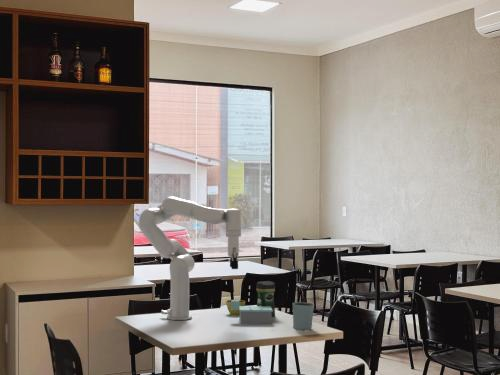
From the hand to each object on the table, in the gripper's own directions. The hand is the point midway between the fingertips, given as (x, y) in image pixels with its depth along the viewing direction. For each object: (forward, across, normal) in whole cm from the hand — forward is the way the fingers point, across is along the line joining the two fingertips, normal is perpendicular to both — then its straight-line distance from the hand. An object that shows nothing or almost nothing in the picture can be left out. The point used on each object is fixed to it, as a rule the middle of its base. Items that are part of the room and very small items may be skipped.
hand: (234, 268), depth 347 cm
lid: (+21, +4, +8) cm, 23 cm away
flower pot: (+27, -19, +2) cm, 33 cm away
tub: (+27, +4, +10) cm, 29 cm away
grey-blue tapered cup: (+28, +20, +31) cm, 46 cm away
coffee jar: (+27, -12, +17) cm, 34 cm away
